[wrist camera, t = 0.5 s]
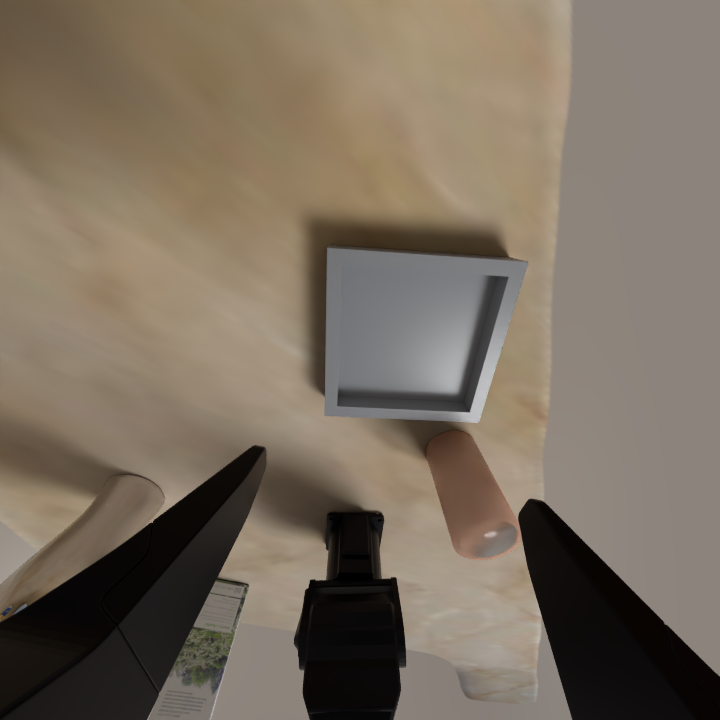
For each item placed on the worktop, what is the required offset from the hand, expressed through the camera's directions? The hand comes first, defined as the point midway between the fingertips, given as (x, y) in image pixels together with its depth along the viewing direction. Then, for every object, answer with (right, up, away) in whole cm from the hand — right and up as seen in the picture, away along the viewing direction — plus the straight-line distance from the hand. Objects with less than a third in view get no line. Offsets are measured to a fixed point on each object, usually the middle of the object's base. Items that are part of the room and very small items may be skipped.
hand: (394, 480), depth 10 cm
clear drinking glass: (-26, -10, +21) cm, 35 cm away
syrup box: (-20, -28, +30) cm, 45 cm away
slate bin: (+3, +6, +14) cm, 15 cm away
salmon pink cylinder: (+8, -5, +19) cm, 21 cm away
